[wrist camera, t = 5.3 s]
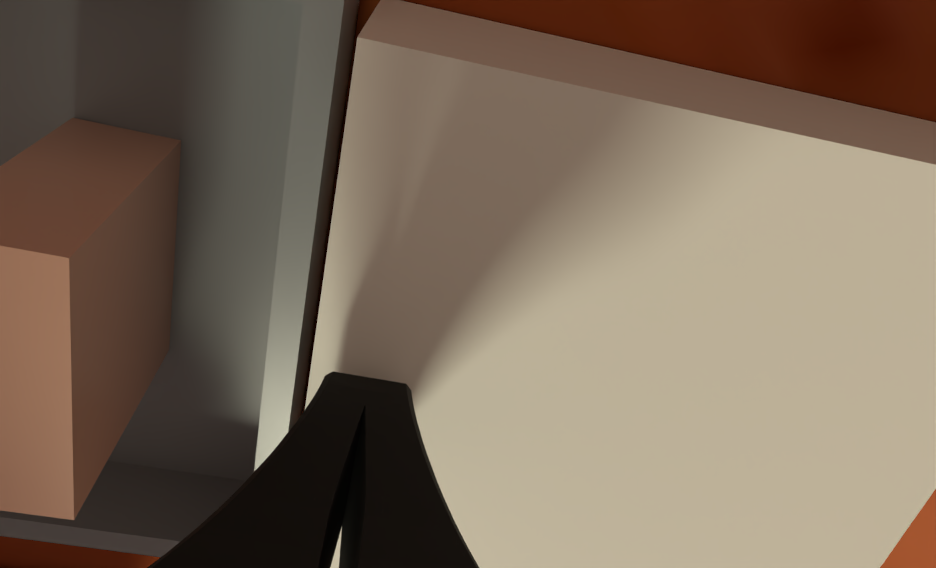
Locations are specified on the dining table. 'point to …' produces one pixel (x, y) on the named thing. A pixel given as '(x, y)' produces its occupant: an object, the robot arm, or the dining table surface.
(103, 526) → the tray
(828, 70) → the dining table surface
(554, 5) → the dining table surface
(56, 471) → the block
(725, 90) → the cream square platform
